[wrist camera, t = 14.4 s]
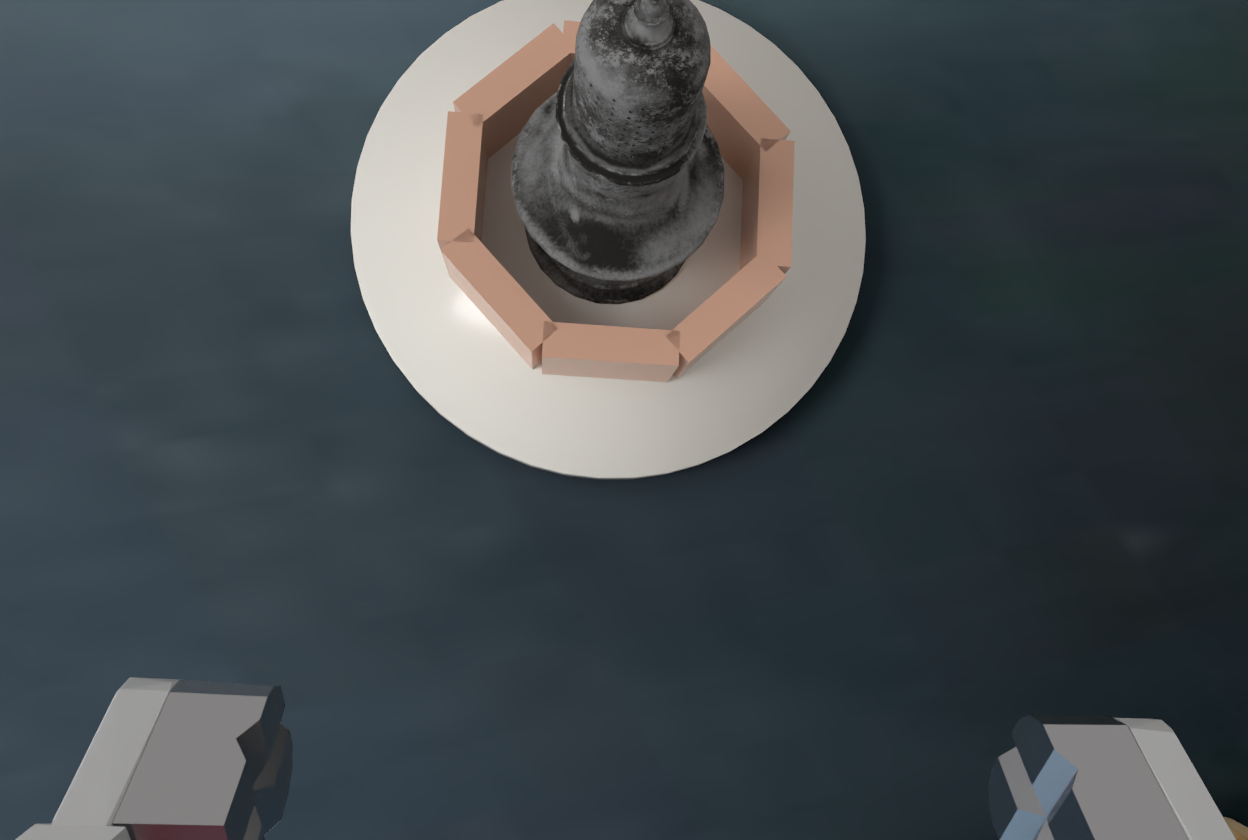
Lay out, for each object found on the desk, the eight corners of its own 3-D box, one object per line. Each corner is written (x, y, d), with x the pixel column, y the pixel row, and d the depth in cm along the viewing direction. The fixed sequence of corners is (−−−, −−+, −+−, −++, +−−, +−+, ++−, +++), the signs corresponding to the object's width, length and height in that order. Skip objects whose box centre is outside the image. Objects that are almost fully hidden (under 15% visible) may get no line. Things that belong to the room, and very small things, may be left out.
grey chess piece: (663, 108, 30) (739, -183, 18) (732, 277, 30) (857, 89, 18) (487, 166, 29) (448, -97, 18) (554, 340, 29) (561, 189, 17)
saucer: (333, 464, 29) (304, 451, 25) (381, -23, 31) (360, -96, 28) (851, 494, 30) (891, 486, 27) (859, 22, 32) (896, -42, 29)
